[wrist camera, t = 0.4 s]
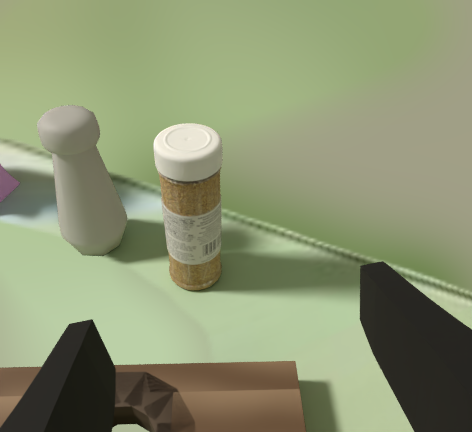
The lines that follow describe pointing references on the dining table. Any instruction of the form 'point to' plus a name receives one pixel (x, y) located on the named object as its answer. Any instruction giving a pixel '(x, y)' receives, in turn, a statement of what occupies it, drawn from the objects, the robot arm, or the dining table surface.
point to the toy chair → (6, 183)
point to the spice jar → (191, 202)
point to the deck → (192, 396)
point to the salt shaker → (82, 181)
